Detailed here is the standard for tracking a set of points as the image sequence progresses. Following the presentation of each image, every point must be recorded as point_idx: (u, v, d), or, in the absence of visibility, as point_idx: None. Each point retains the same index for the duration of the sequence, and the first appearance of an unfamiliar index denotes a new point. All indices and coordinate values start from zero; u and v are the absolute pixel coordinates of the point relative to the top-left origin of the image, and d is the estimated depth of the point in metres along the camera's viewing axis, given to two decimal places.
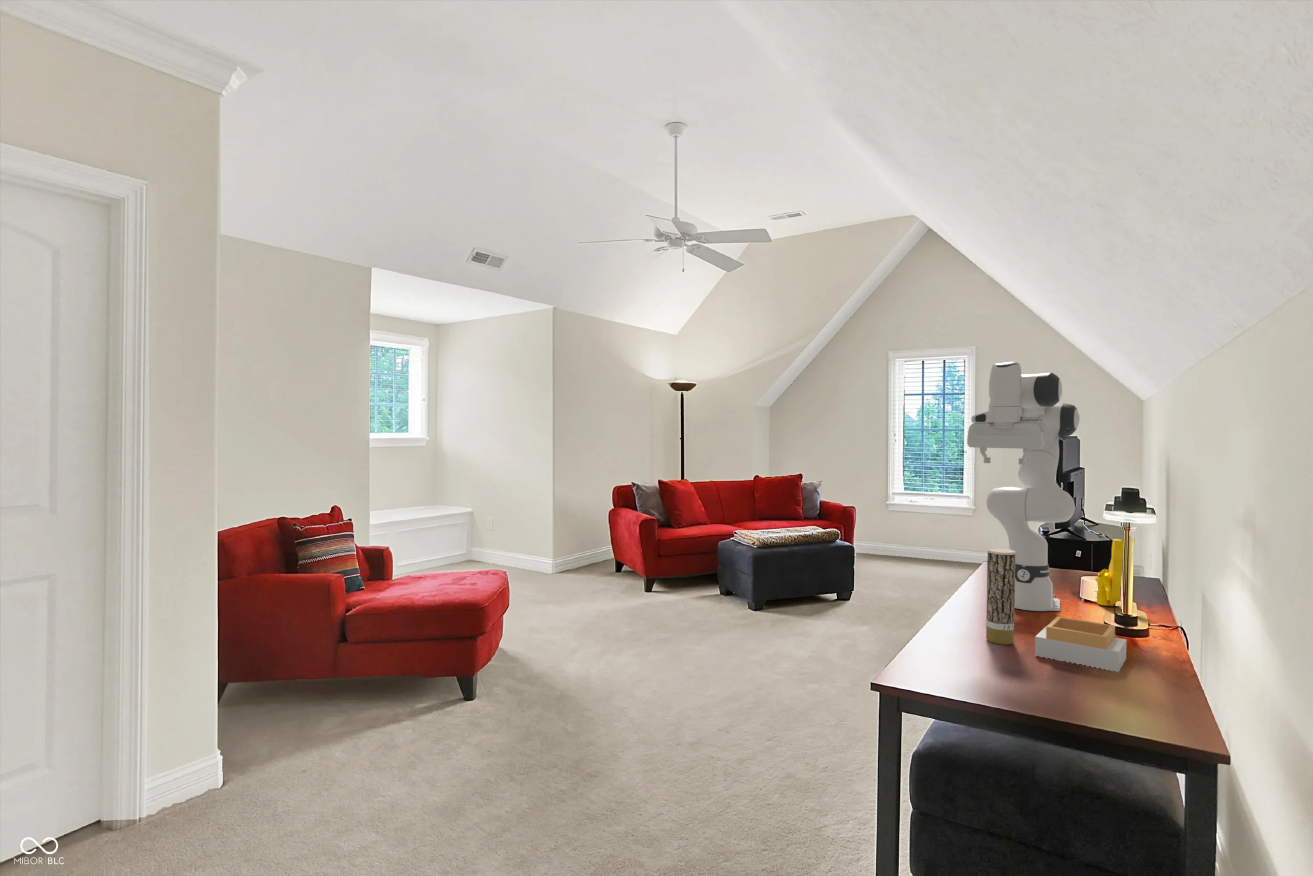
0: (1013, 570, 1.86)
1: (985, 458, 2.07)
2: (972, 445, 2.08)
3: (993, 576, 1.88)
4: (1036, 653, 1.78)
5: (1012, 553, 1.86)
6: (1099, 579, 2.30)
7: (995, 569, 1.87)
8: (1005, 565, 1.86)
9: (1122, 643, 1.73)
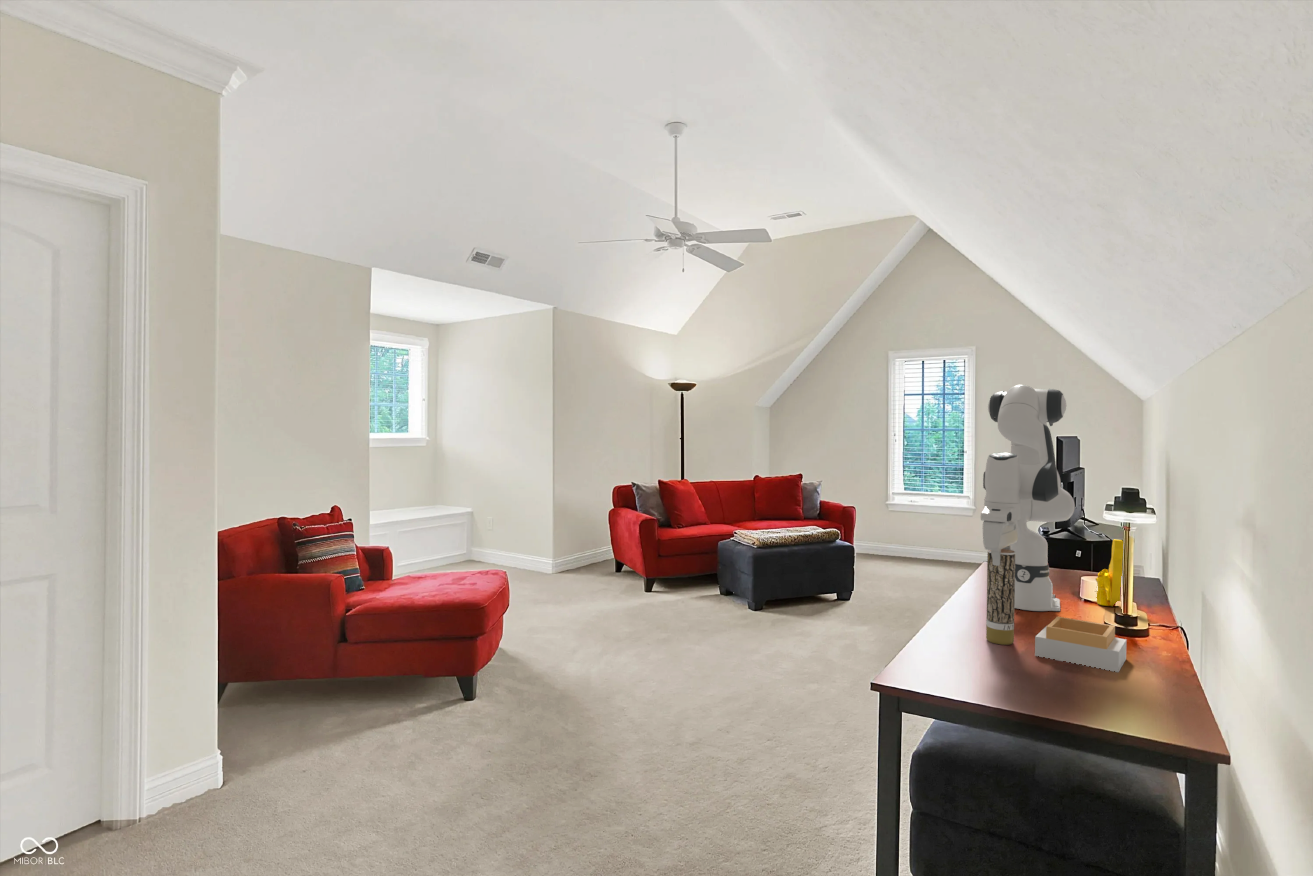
0: (1013, 570, 1.86)
1: (1000, 560, 1.85)
2: (999, 548, 1.82)
3: (993, 576, 1.88)
4: (1036, 653, 1.78)
5: (1012, 553, 1.86)
6: (1099, 579, 2.30)
7: (995, 569, 1.87)
8: (1005, 565, 1.86)
9: (1122, 643, 1.73)
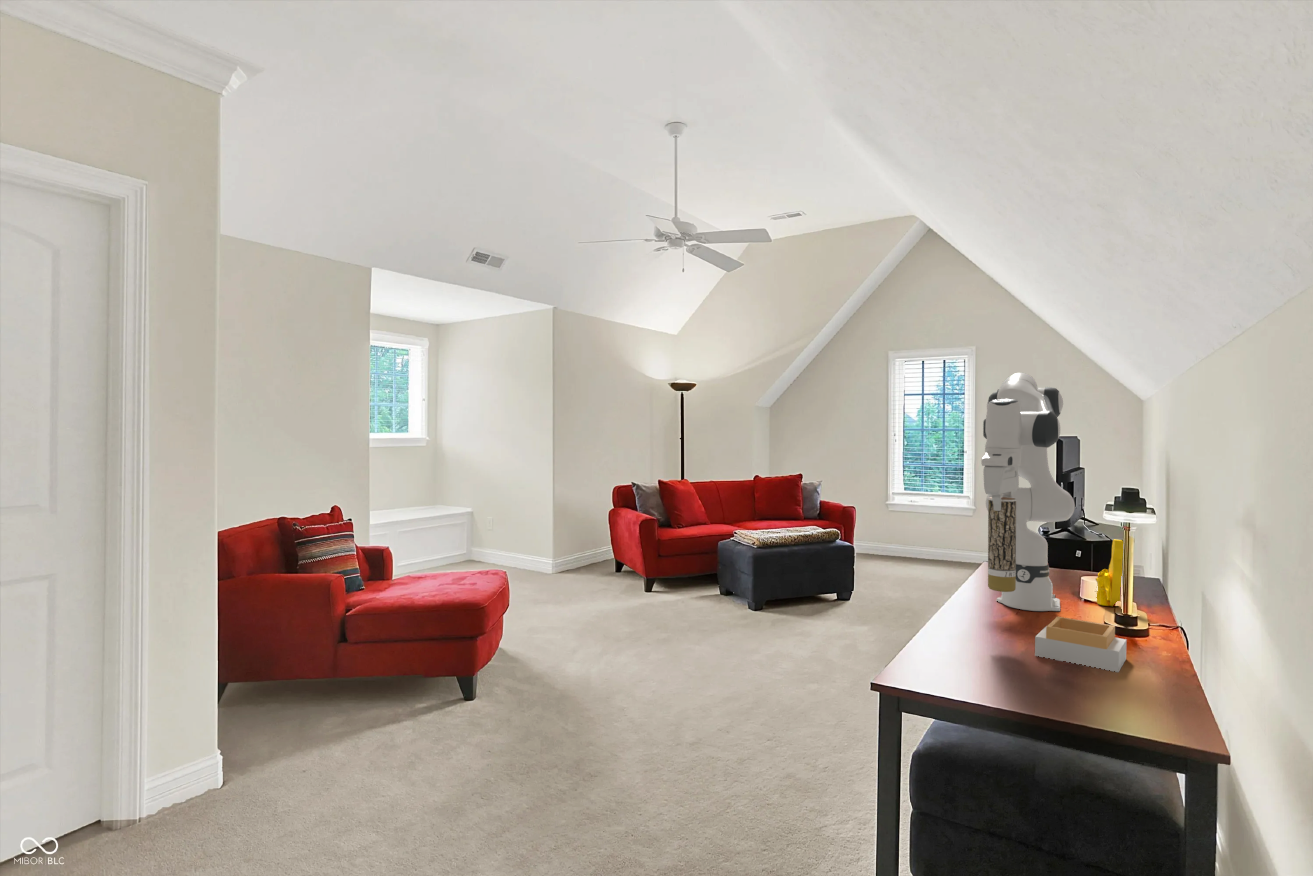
0: (1014, 517, 1.86)
1: (1001, 505, 1.85)
2: (1000, 492, 1.81)
3: (994, 524, 1.87)
4: (1036, 653, 1.78)
5: (1013, 500, 1.86)
6: (1099, 579, 2.30)
7: (996, 517, 1.87)
8: (1006, 512, 1.86)
9: (1122, 643, 1.73)
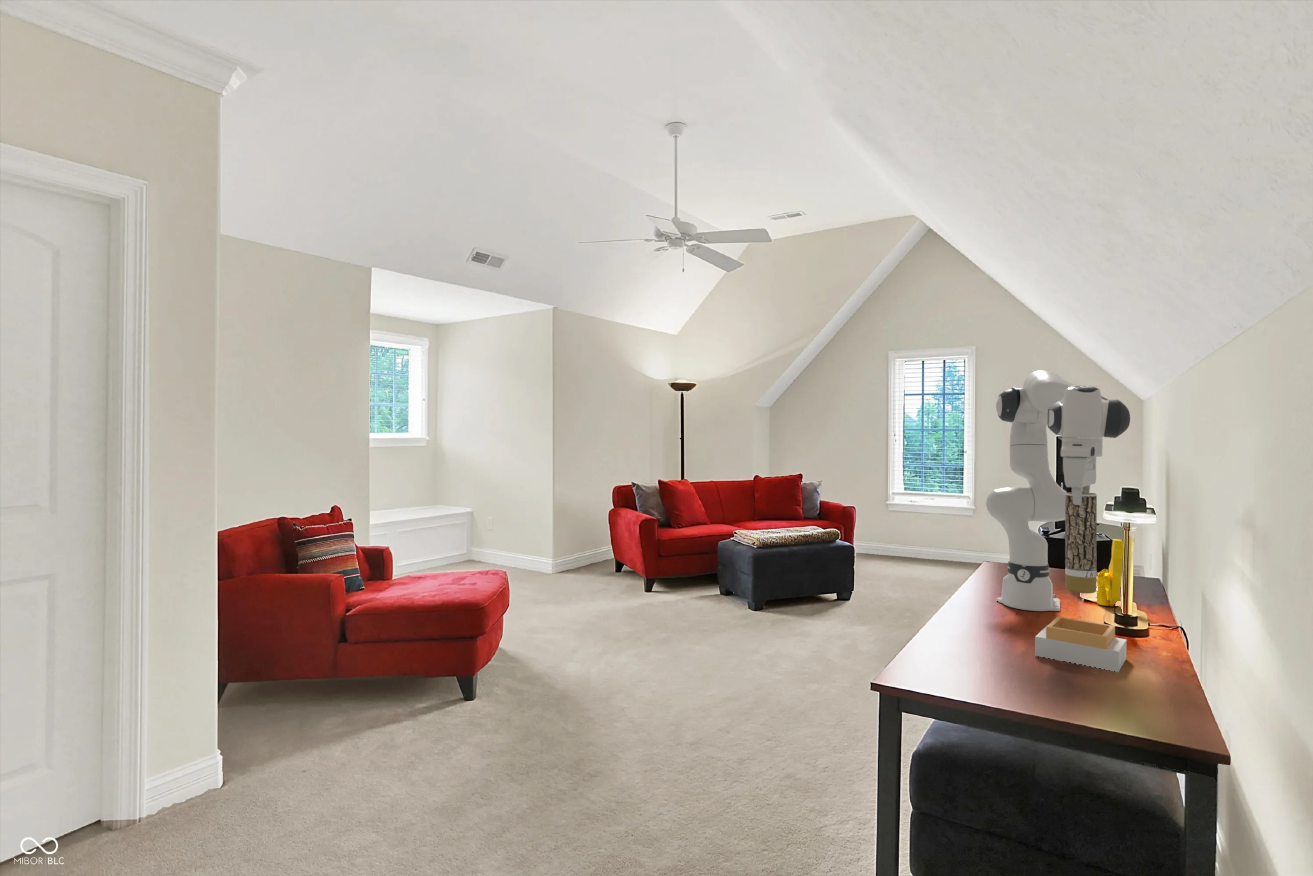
0: (1095, 513, 1.74)
1: (1081, 499, 1.73)
2: (1082, 485, 1.69)
3: (1073, 520, 1.75)
4: (1036, 653, 1.78)
5: (1094, 495, 1.74)
6: (1099, 579, 2.30)
7: (1076, 513, 1.75)
8: (1086, 508, 1.73)
9: (1122, 643, 1.73)
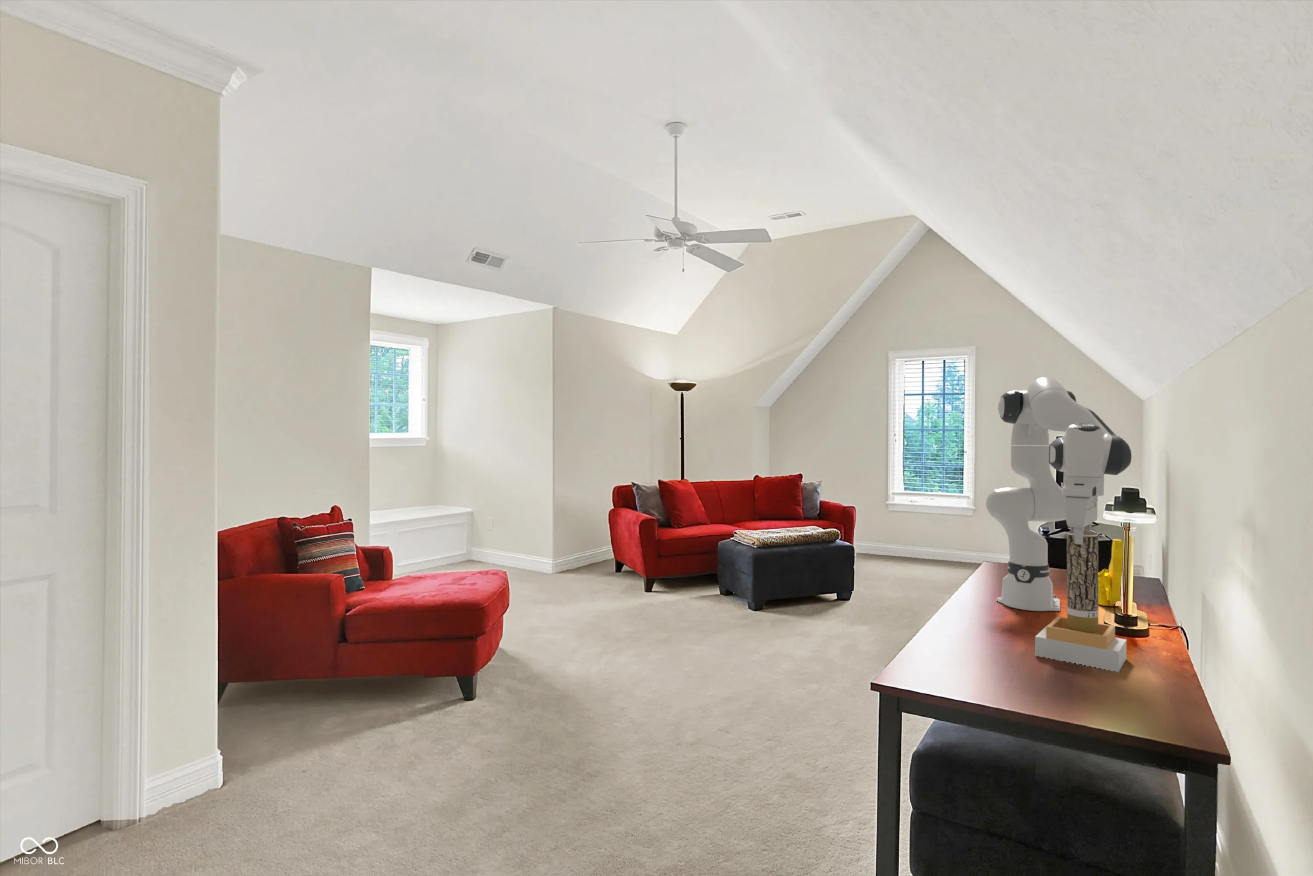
0: (1096, 553, 1.74)
1: (1083, 538, 1.73)
2: (1084, 525, 1.69)
3: (1074, 560, 1.75)
4: (1036, 653, 1.78)
5: (1095, 535, 1.74)
6: (1099, 579, 2.30)
7: (1077, 553, 1.74)
8: (1088, 548, 1.73)
9: (1122, 643, 1.73)
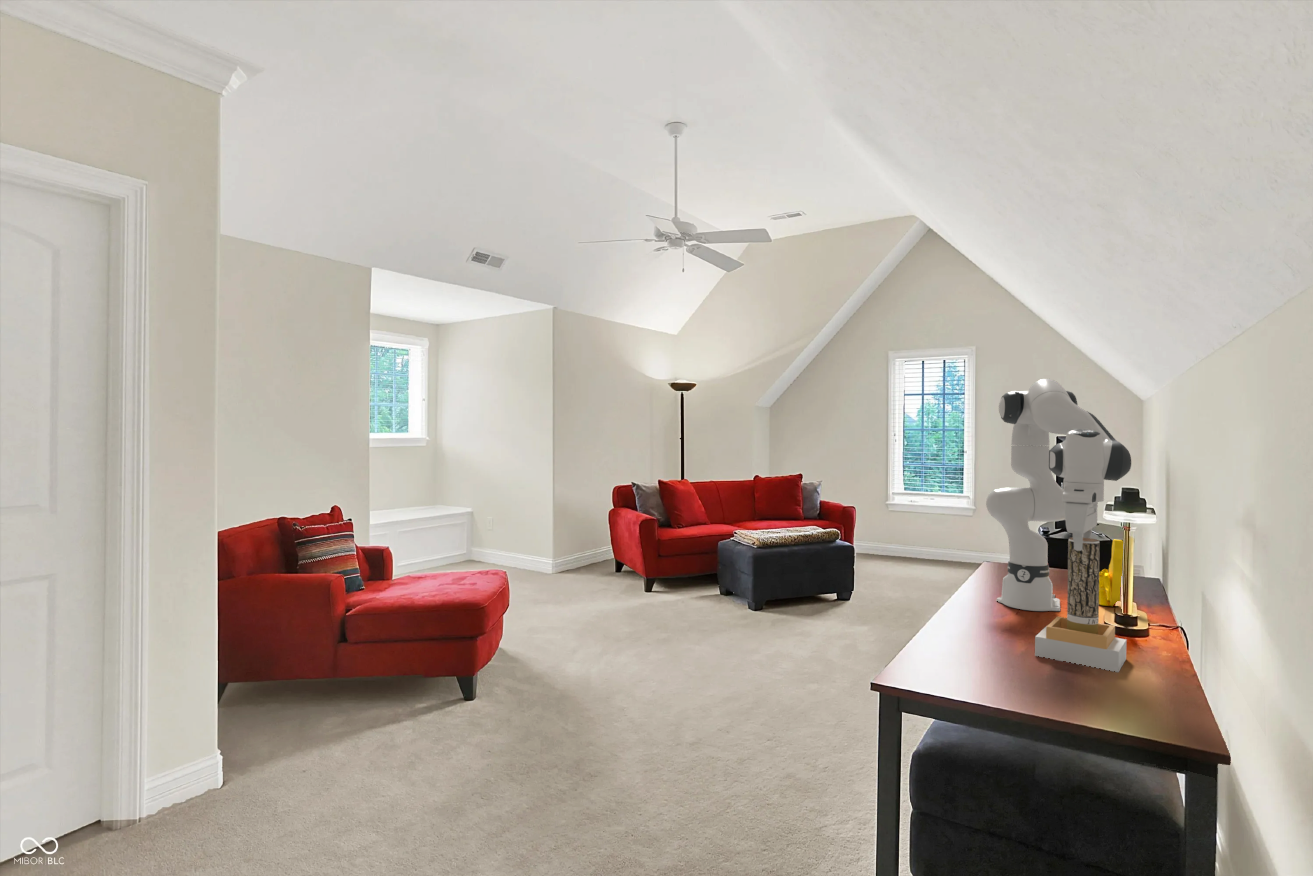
0: (1098, 560, 1.74)
1: (1082, 544, 1.72)
2: (1084, 531, 1.69)
3: (1075, 567, 1.75)
4: (1036, 653, 1.78)
5: (1097, 542, 1.74)
6: (1099, 579, 2.30)
7: (1079, 559, 1.74)
8: (1089, 555, 1.73)
9: (1122, 643, 1.73)
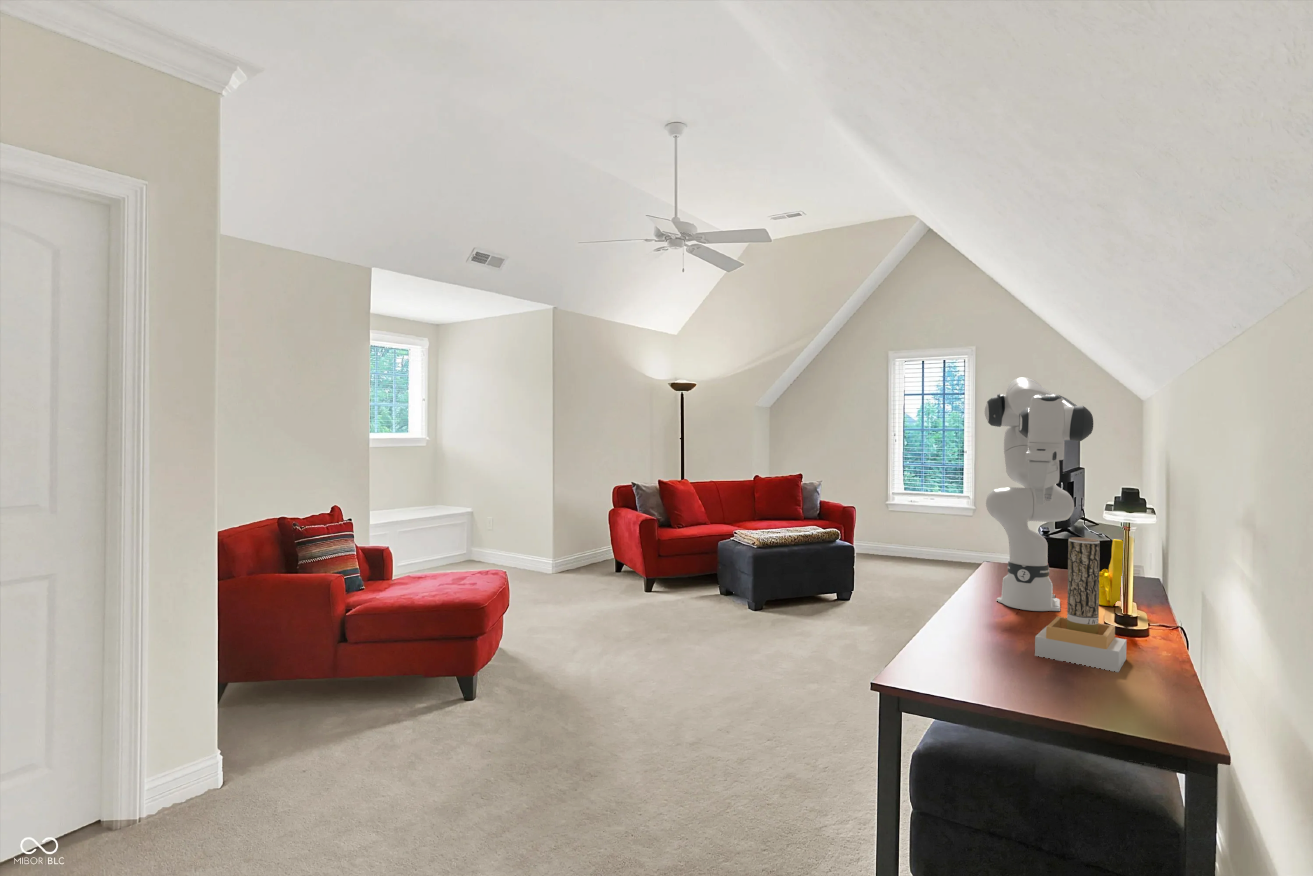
0: (1098, 560, 1.74)
1: (1044, 499, 1.89)
2: (1045, 486, 1.85)
3: (1075, 567, 1.75)
4: (1036, 653, 1.78)
5: (1097, 542, 1.74)
6: (1099, 579, 2.30)
7: (1079, 559, 1.74)
8: (1089, 555, 1.73)
9: (1122, 643, 1.73)
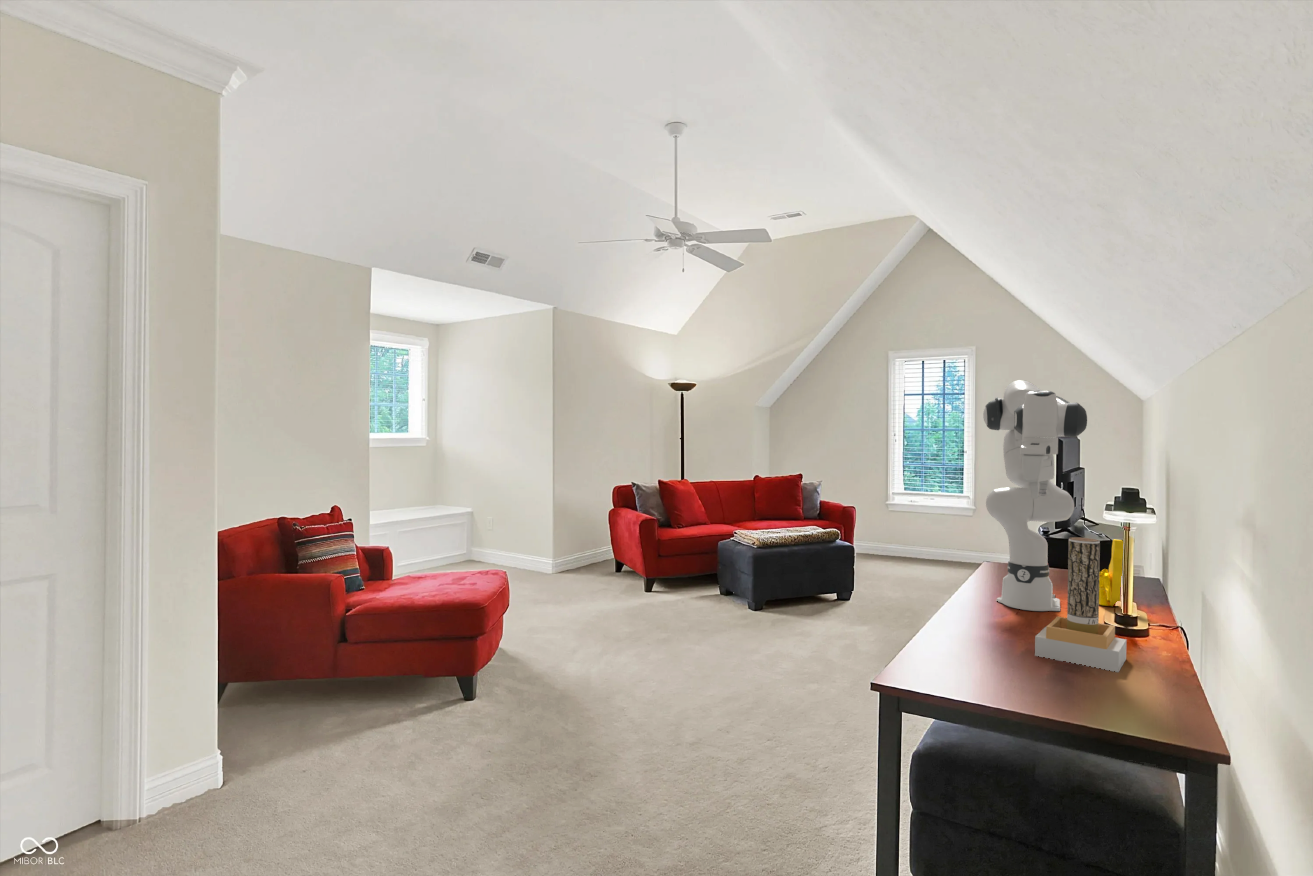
0: (1098, 560, 1.74)
1: (1038, 493, 1.91)
2: (1039, 480, 1.88)
3: (1076, 567, 1.75)
4: (1036, 653, 1.78)
5: (1097, 542, 1.74)
6: (1099, 579, 2.30)
7: (1079, 559, 1.74)
8: (1089, 555, 1.73)
9: (1122, 643, 1.73)
